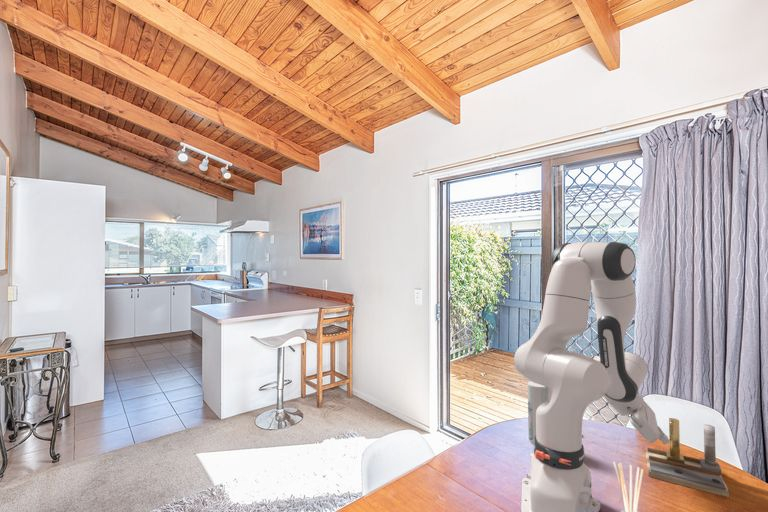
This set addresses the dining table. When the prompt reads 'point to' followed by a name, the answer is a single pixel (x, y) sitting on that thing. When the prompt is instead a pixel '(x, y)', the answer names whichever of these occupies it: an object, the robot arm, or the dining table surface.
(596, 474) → the dining table surface
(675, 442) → the leg
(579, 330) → the robot arm
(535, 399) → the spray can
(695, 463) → the base
